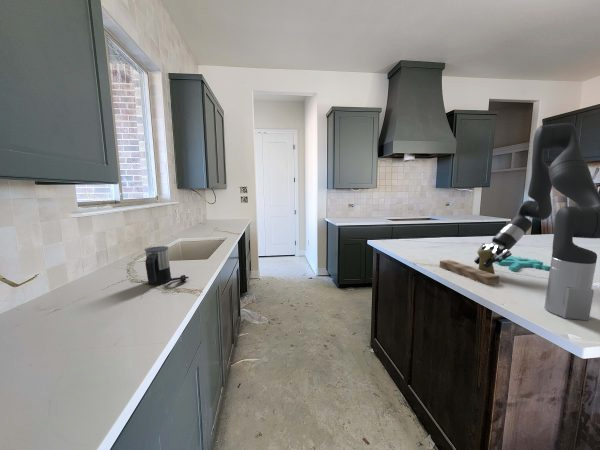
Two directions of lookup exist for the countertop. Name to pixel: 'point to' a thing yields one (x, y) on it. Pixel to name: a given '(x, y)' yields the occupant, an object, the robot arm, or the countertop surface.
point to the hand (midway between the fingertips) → (480, 264)
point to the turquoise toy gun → (522, 263)
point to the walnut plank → (470, 272)
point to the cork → (484, 257)
